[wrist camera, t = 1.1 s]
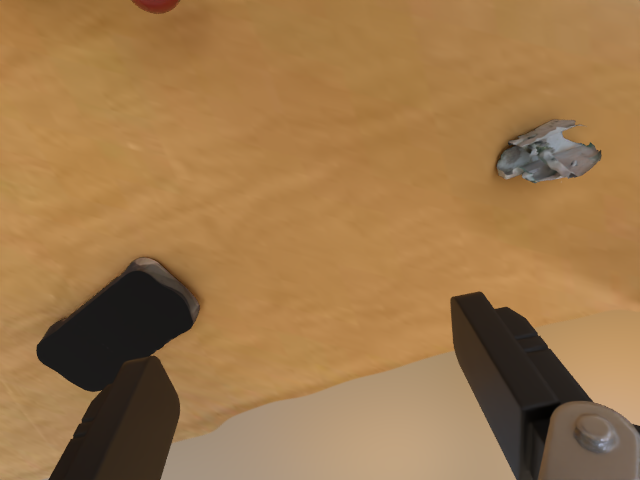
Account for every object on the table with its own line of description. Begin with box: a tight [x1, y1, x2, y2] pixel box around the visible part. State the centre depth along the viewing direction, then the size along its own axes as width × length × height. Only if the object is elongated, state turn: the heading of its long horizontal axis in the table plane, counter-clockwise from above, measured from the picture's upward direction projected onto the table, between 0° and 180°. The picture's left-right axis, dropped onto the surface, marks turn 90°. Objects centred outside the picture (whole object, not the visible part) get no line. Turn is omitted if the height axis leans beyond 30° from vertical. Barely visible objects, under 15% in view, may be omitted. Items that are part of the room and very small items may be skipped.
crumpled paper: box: [497, 119, 602, 183], centre depth 34 cm, size 4×8×7 cm, turn 112°
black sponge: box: [36, 258, 200, 392], centre depth 42 cm, size 16×8×4 cm, turn 127°
